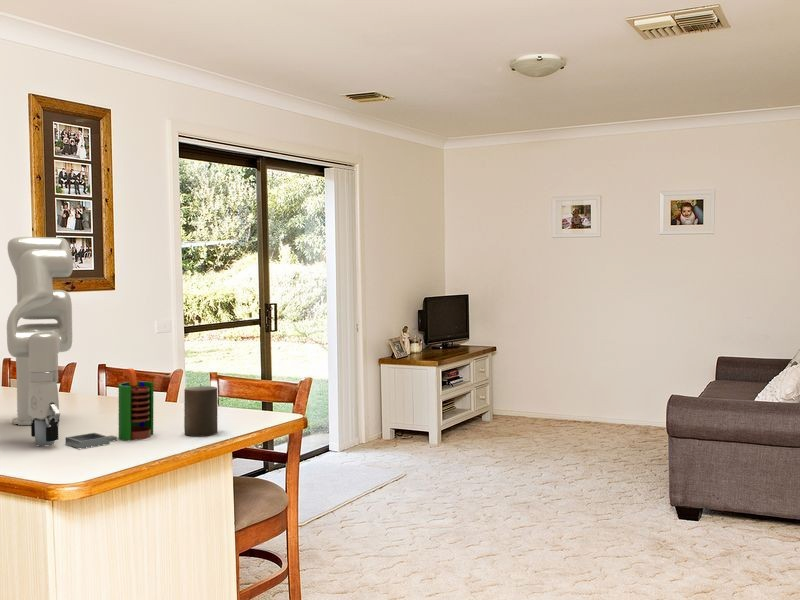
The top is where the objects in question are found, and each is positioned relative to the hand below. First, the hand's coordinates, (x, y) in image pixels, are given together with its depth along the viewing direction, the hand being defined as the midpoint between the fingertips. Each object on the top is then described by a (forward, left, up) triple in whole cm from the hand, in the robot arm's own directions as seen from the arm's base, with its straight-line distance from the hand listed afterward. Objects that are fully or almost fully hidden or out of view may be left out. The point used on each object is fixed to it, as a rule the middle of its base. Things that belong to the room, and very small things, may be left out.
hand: (44, 438), depth 223 cm
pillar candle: (+20, +38, -2) cm, 43 cm away
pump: (0, 0, -2) cm, 2 cm away
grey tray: (+9, +10, -2) cm, 13 cm away
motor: (+10, +22, -2) cm, 24 cm away
